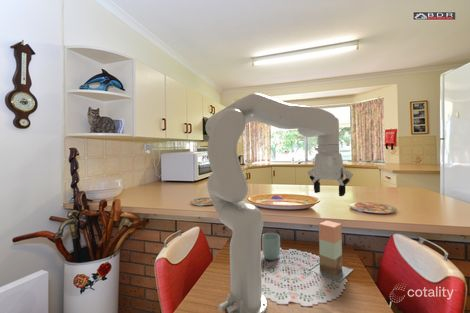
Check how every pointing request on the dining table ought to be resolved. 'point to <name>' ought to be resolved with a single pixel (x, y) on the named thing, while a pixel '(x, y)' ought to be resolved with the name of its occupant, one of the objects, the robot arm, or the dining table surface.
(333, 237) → the terracotta brick
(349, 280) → the dining table surface
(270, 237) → the cup
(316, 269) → the plate
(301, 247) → the dining table surface
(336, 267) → the walnut brick
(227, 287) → the dining table surface
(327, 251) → the sage brick
